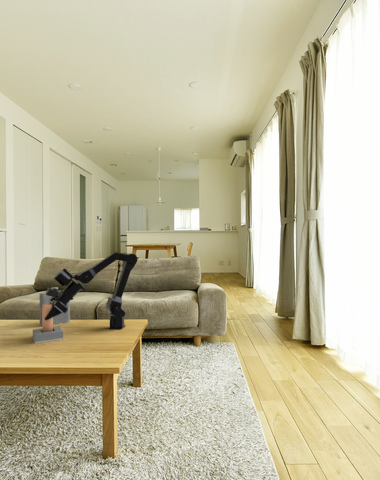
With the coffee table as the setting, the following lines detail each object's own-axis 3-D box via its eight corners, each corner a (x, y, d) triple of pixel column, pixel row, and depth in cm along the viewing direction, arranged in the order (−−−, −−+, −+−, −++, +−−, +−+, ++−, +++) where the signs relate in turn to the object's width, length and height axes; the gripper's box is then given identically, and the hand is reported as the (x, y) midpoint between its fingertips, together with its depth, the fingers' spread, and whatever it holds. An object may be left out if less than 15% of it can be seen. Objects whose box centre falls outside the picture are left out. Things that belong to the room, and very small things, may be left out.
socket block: (59, 333, 151) (59, 326, 151) (63, 339, 142) (63, 331, 142) (32, 337, 145) (32, 329, 145) (34, 343, 136) (34, 335, 136)
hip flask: (40, 327, 164) (40, 289, 164) (38, 325, 167) (38, 288, 167) (70, 322, 175) (70, 286, 175) (68, 320, 178) (67, 285, 178)
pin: (54, 334, 144) (54, 304, 144) (46, 336, 140) (45, 305, 141) (49, 333, 147) (49, 303, 147) (40, 335, 143) (40, 304, 143)
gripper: (53, 279, 154) (28, 304, 148) (59, 283, 138) (32, 311, 132) (70, 294, 158) (47, 319, 152) (78, 299, 142) (52, 327, 136)
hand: (44, 318), depth 143 cm, fingers closed on pin, 4 cm apart
